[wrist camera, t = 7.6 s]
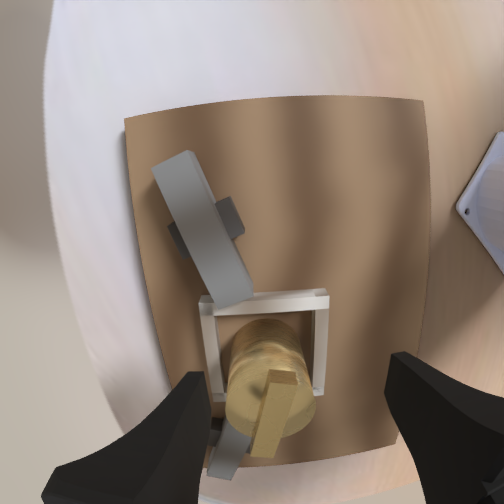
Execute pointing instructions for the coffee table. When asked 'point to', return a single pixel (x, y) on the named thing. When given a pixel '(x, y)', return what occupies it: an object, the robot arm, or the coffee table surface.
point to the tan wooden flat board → (287, 251)
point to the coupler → (268, 385)
